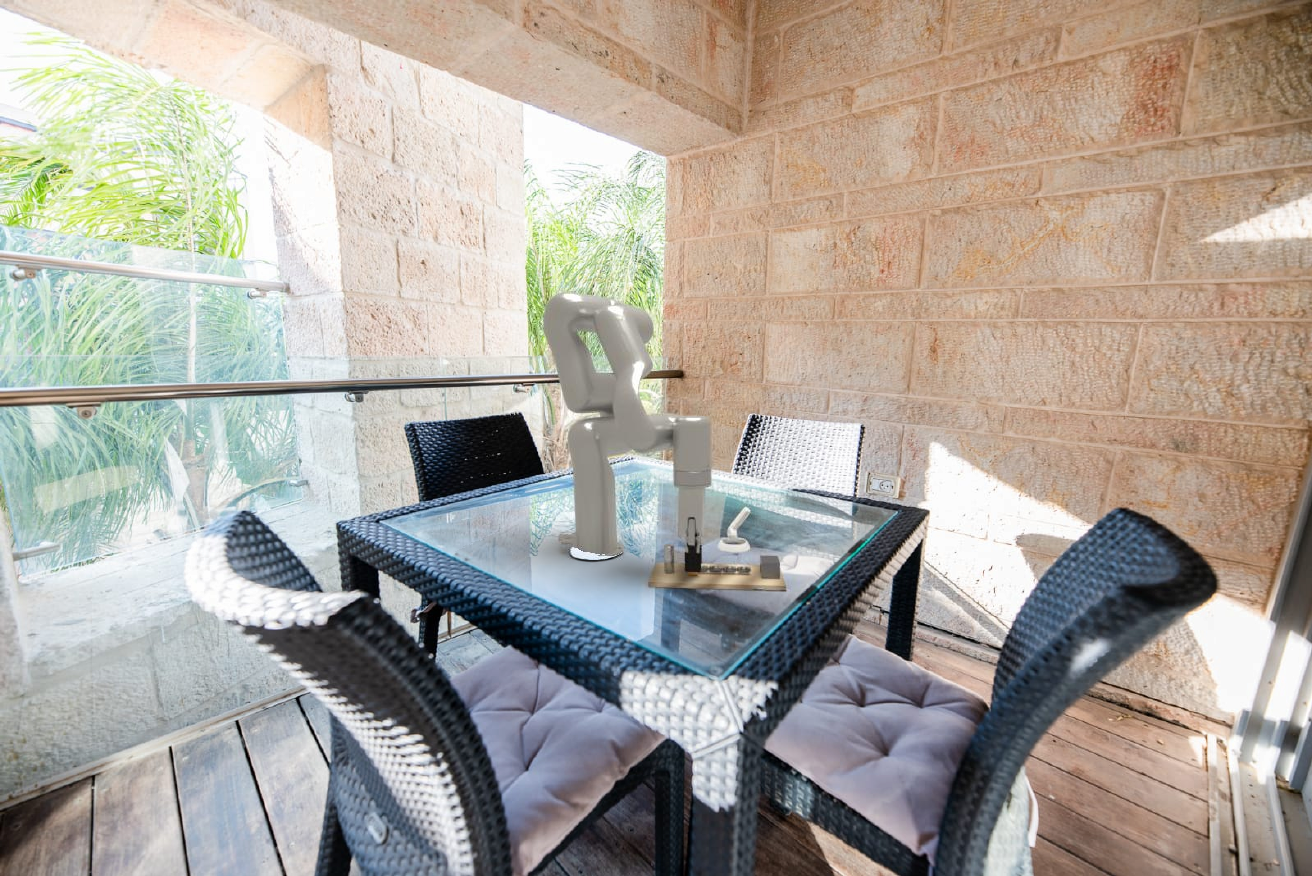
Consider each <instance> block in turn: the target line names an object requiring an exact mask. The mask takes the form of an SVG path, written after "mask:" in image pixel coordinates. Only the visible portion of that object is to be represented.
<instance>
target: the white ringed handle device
mask: <svg viewBox="0 0 1312 876" xmlns="http://www.w3.org/2000/svg"><path fill="white" fill-rule="evenodd" d="M750 513H751V510H750V508H748V507H747V506H745V507H743V509H742V510H741V511H740V512H739V513H738V515H737V516H736V517H735V518H734V520H733V521H732V522H731V524H730V525H729V526H728V528H727V532H726V533H727V537H723V538H722V539H720V540H719V543H718V544H717V549H718V550H719V551H722V552H726V553H733V554H735V553H738V554H739V553H745V552H749V551H750V549H751V546H750V543H749V542H748V540H747V539H746V538H742V537H738V536H739V535H738V529H739V528H740V526H741V525H742V524H743V523H744V521H745V520H746V519H747V518H748V516H749V515H750Z"/></svg>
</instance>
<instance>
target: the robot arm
mask: <svg viewBox="0 0 1312 876" xmlns="http://www.w3.org/2000/svg"><path fill="white" fill-rule="evenodd" d="M542 320H543V322H542V323H543V331H544V335H545V339H546V341H547V344H548V347H549V348H550V352H551V354H552V357H553V359H554V362H555V367H556V372H557V375H558V381H559V384H560V388H561V392H562V396H563V397H562V398H563V399H564V403H565V405H566V407H567V409H568V410H569V411H570V412H572V413H574V414H598V413H599V416H598V417H597V416H595V417H587V418H582V419H580V420H577V421H576V422H575V423H573V424H572V425H571V426H570V429H569V430H568V432H567V445H568V447H567V448H568V450H569V451H568V452H569V456H570V459H571V465H572V476H573V477H572V478H573V492H574V493H573V494H574V499H573V500H574V523H575V525H574V526H575V527H574V528H575V532H574V533H572V534H568V533H566V534H565V533H560V534H559V535H558V542H559V541H561V542H560V545H570V547H574V548H578V549H579V550H581V551H583V552H590V553H595V554H600V555H598V556H615V555H618V554H620V553H621V552H623V553H624V551H623V550H625V549H624V548H625V546H624V544H623V543H621V542H619V541H617V539H618V538H617V536H618V533H617V503H616V502H617V501H616V499H617V497H616V477H615V472H614V469H613V467H612V465H611V463H610V461H609V459H608V458H609V457H610V458H611V457H616V456H621V455H625V454H628V453H629V452H631V451H634V452H636V453H638V454H650V453H654V452H656V453H657V452H660V451H667V450H672V452H673V453H672V455H673V457H672V458H673V459H672V460H673V461H672V463H673V468H672V469H673V476H672V477H673V487H675V488H678V496H677V537H678V538H679V539H682V538H684V536H685V538H684V540H685V545H684V546H685V547H684V548H685V551H684V553H685V561H684V563H685V571H686V572H701V564H703V552H702V550H703V549H702V547H703V545H702V543H701V542H702V541H701V540H702V539H701V538H702V537H703V535H704V530H705V521H706V488H710V487H712V485H713V484H712V422H711V419H710V418H709V417H707V416H705V415H693V414H692V415H681V414H677V413H671V412H670V413H668V412H667V413H657V414H647V412H646V410H645V407H644V405H643V402H642V399H641V397H640V391H639V388H640V387H639V386H640V383H641V381H642V380H644V378H646V377H647V376H648V375H649V374H650V373H651V372H652V370H653V368H654V364H653V360H652V358H651V355H650V354H649V352H648V349H647V347H646V344H648V343H649V342H650V341H651V339H652V337H653V334H654V323H653V320H652V317H651V316H650V314H649V313H648V312H647V311H646V310H644V309H643V308H640V307H637V306H635V305H634V306H633V305H631V304H627V303H624V302H622V301H621V302H620V301H617V300H615V299H612V298H608V297H603V296H598V295H592V294H588V293H581V292H575V291H564V292H563V291H562V292H559V293H557V294H554V295H553V296H552V297H551V298H550V299H549V300H548V301H547V303H546V306H545V308H544V313H543V319H542ZM579 332H582V333H594V334H596V336H597V338H598V340H599V342H600V346H601V347H602V350H603V352H604V354H605V357H606V359H607V361H608V363H609V365H610V368H611V370H612V373H609V372H598V371H597V370H596V368H595V365H594V362H593V357H592V354H591V351H590V350H589V346H588V345H587V344H586V342H585V341H584V340H583V339H582V337H581V336H580V335H579ZM695 540H697V543H696V542H695ZM602 554H605V555H602Z"/></svg>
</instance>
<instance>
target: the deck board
mask: <svg viewBox="0 0 1312 876" xmlns="http://www.w3.org/2000/svg"><path fill="white" fill-rule="evenodd" d="M701 566H707V567H708V571H707V572H698V575H689V574H688V572H686V571H685V562H674V573H672V574H666V573H664V562H658V561H657V562H655V563H654V565H653V568H652V571H651V574H650V577H649V579H648V580H649V581H648V587H649V588H668V589H669V588H671V589H672V588H673V589H675V588H676V589H677V588H678V589H703V590H704V589H706V590H739V591H741V590H742V591H754V590H753V589H758V588H764V589H766V590H778V591H777V592H780V591H779V590H786V591H787V584H786V582H785V578H784V575H783V572H782V570H781V568H780V579H762V578H761V573H760V564H739V563H738V564H736V563H735V564H734V563H732V564H731V563H727V564H726V563H702V564H701ZM710 566H721V567H722V571H721V572H710V571H709V567H710ZM724 566H734V567H736V569H737V567H750V568H751V571H750V573H739V572H737V571H736V572H734V573H730V572H724V571H723V567H724ZM766 590H765V591H766Z"/></svg>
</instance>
